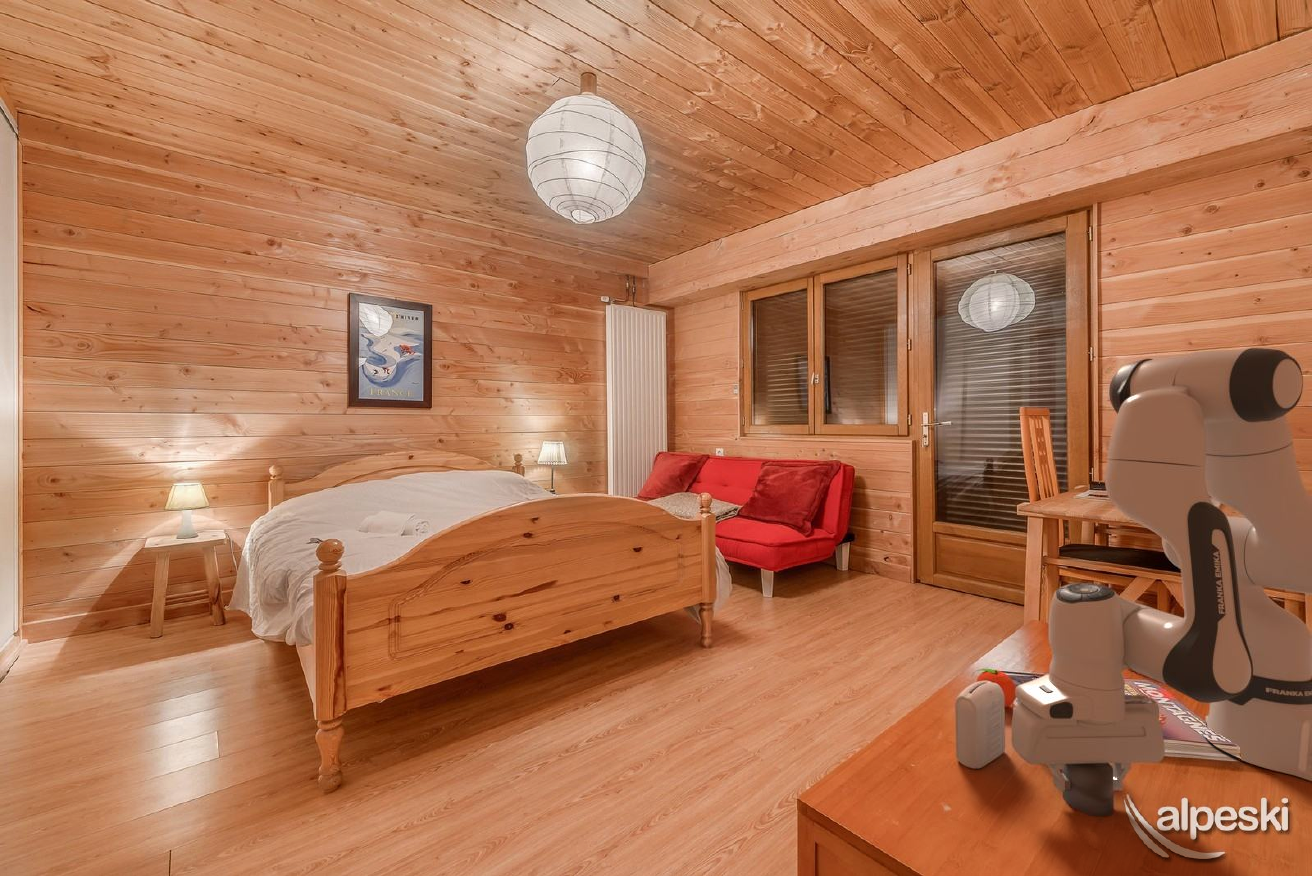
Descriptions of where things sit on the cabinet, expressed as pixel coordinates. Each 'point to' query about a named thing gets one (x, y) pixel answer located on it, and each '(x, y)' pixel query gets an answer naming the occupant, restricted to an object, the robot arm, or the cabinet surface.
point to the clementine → (1000, 683)
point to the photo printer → (980, 724)
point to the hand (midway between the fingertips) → (1087, 788)
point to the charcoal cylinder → (1090, 788)
